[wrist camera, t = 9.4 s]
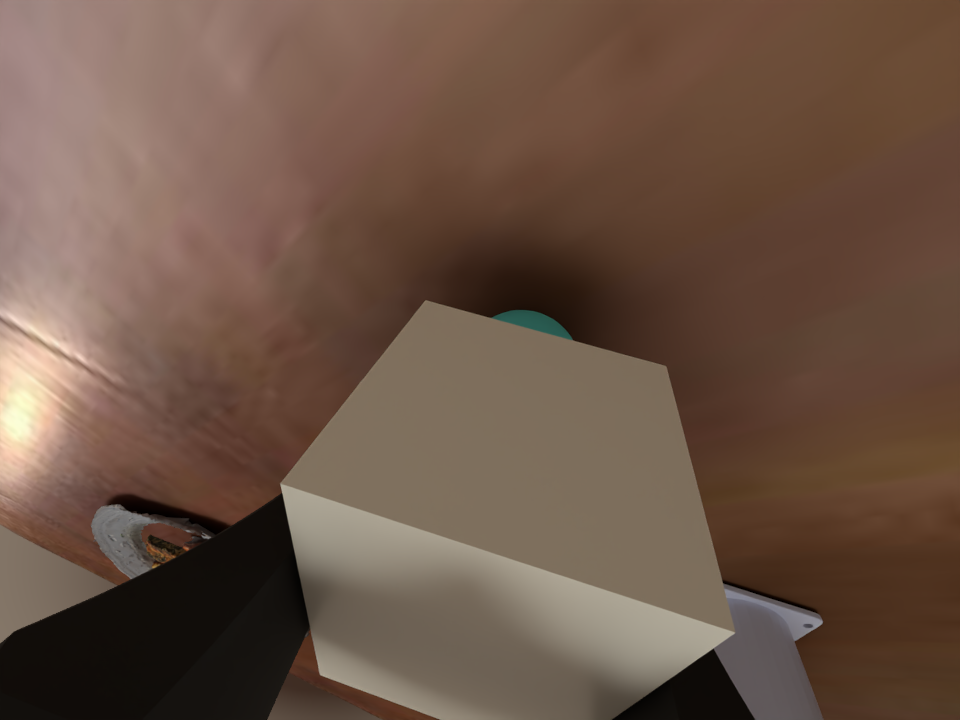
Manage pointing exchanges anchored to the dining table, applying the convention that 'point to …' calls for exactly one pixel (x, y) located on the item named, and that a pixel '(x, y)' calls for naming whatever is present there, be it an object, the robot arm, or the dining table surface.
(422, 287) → the dining table surface
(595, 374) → the cream rectangular block
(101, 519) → the food plate
